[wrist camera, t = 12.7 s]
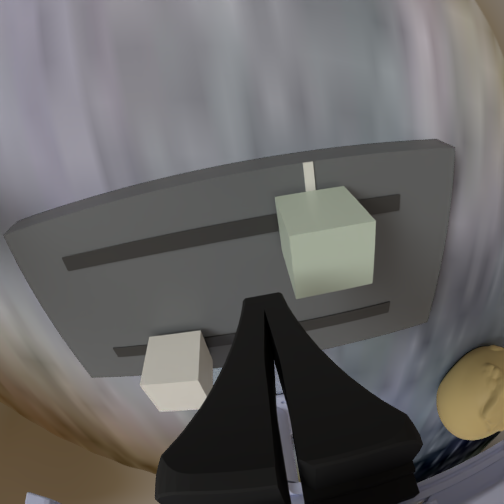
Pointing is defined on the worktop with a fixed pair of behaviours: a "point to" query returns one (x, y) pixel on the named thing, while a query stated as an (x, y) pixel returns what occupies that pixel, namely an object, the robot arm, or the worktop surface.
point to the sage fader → (326, 241)
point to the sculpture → (474, 394)
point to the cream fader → (177, 371)
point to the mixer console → (233, 252)
